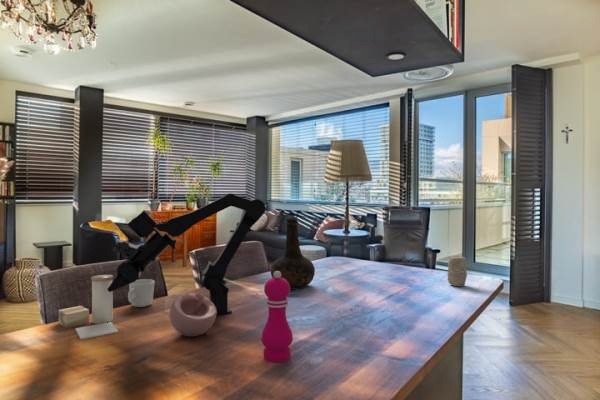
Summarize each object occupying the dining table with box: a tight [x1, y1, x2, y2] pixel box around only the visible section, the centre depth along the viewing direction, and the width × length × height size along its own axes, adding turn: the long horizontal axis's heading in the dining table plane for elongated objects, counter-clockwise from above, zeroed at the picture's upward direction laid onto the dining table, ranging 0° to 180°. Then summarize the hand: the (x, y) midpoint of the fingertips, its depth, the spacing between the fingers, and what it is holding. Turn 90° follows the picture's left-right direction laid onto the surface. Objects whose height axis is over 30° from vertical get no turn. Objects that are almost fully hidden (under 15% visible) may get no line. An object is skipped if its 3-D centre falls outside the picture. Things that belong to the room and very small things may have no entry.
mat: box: [75, 321, 119, 341], centre depth 106 cm, size 9×9×1 cm
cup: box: [127, 278, 156, 308], centre depth 129 cm, size 11×8×8 cm
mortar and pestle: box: [169, 292, 217, 337], centre depth 103 cm, size 12×12×12 cm
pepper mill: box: [261, 271, 294, 363], centre depth 89 cm, size 7×7×20 cm
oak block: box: [58, 305, 90, 329], centre depth 112 cm, size 6×6×4 cm
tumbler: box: [90, 274, 114, 325], centre depth 114 cm, size 6×6×13 cm
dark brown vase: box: [270, 217, 316, 290], centre depth 157 cm, size 18×18×28 cm
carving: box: [447, 255, 468, 287], centre depth 160 cm, size 6×8×12 cm
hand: (112, 287), depth 115 cm, fingers open, 9 cm apart
